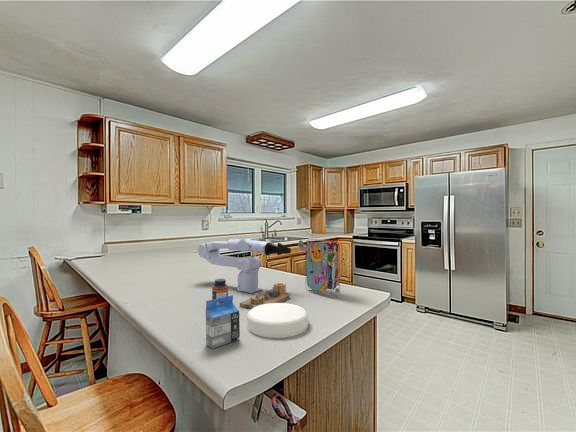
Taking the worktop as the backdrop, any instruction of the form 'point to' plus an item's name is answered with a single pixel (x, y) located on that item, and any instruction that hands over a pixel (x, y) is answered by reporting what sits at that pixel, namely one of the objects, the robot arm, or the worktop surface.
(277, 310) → the container
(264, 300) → the gear board
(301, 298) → the worktop surface
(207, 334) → the label tape box
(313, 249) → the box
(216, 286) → the supplement bottle
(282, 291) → the idler gear
